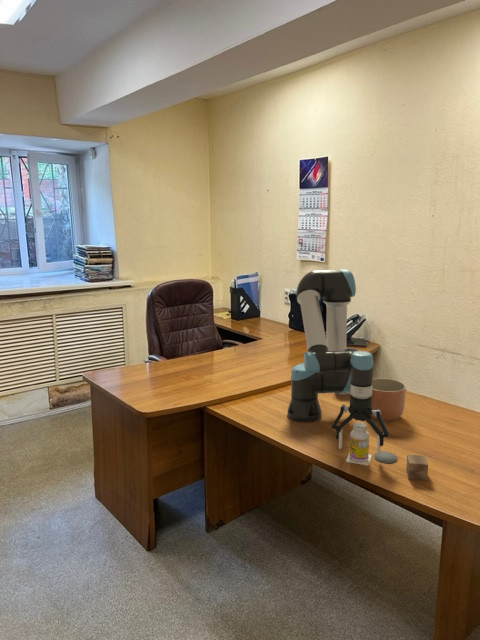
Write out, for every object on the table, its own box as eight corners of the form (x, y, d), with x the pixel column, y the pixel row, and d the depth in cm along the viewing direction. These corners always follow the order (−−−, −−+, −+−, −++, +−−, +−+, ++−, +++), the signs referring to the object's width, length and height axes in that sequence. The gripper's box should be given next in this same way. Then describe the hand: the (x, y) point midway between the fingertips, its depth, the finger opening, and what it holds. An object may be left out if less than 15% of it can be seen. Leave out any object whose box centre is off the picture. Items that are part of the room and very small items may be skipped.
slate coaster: (373, 460, 168) (373, 459, 168) (376, 450, 175) (376, 449, 175) (396, 465, 165) (396, 464, 165) (398, 454, 172) (398, 453, 172)
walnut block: (408, 479, 156) (409, 463, 155) (406, 470, 162) (407, 454, 160) (427, 481, 155) (428, 464, 153) (424, 471, 160) (425, 455, 159)
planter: (362, 408, 214) (363, 377, 211) (401, 410, 211) (403, 378, 207) (364, 424, 198) (365, 390, 195) (406, 427, 194) (408, 392, 191)
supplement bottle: (347, 453, 173) (348, 421, 170) (364, 452, 174) (365, 420, 171) (353, 462, 167) (353, 429, 164) (371, 461, 167) (372, 428, 164)
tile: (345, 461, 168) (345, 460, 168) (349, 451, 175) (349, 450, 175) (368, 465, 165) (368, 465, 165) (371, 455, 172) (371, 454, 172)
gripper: (323, 394, 167) (322, 449, 171) (396, 403, 157) (393, 461, 161) (328, 387, 173) (327, 440, 178) (398, 395, 163) (396, 451, 168)
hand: (359, 450), depth 169 cm, fingers open, 13 cm apart
